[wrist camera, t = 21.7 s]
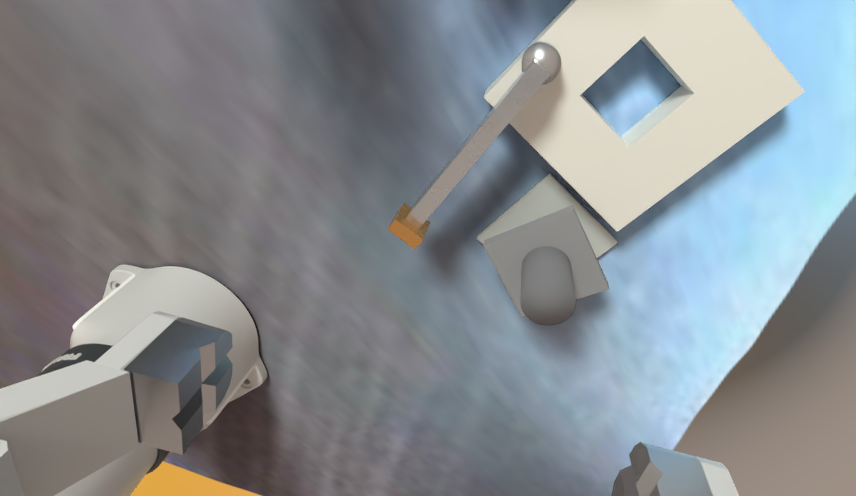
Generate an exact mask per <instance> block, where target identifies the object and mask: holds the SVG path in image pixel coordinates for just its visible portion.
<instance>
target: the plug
mask: <svg viewBox="0 0 856 496" xmlns="http://www.w3.org/2000/svg"><path fill="white" fill-rule="evenodd" d="M483 247H484V249H485V250H486V252H487V254H488V256H489V258H490V260H491V261H492V263H493V265H494V267H495V269H496V271H497V272H498V274H499V276H500V278H501V280H502V282H503V283H504V285H505V287H506V289H507V291H508V293H509V295H510V296H511V298H512V300H513V302H514V304H515V306H516V307H517V309H518V311H519V313H520V315H521V317H525V316H526V317H528V318H529V319H530V320H531V321H533V322H535V323H538V324H542V325H555V324H559V323H562V322H564V321H565V320H567V319H568V318H569V317H570V316H571V315H572V314H573V312H574V310H575V307H576V300H577V299H580V298H583V297H587V296H590V295H593V294H596V293H599V292H602V291H605V290H608V289H609V286H608V282H607V280H606V278H605V275H604V273H603V271H602V269H601V266H600V264H599V262H598V260H597V258H596V255H595V253H594V251H593V249H592V247H591V244H590V242H589V240H588V238H587V236H586V233H585V231H584V229H583V227H582V225H581V222H580V220H579V218H578V216H577V213H576V211H575V209H574V207H573V205H571V206H569V207H566V208H564V209H561V210H559V211H556V212H554V213H551V214H549V215H546V216H544V217H541V218H539V219H536V220H534V221H531V222H529V223H526V224H524V225H521V226H519V227H516V228H513V229H511V230H508V231H506V232H503V233H501V234H498V235H496V236H493V237H491V238H488V239H486V240H484V245H483Z"/></svg>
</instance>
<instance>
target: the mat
mask: <svg viewBox="0 0 856 496" xmlns="http://www.w3.org/2000/svg"><path fill="white" fill-rule="evenodd" d="M571 205H573V207H574V209H575V211H576V213H577V216H578V218H579V220H580V222H581V225H582V227H583V229H584V231H585V233H586V236H587V238H588V240H589V242H590V244H591V247H592V249H593V251H594V253H595V255H596V258H598V257H599V256H601V255H602V254H603V253H605V252H606V251H608V250H609V249H610V248H612V247H613V246H614V245H616V244H617V243H618V241H617V240H616V239H615V238H614V237H613V236H612V235H611V234H610V233H609V232H608V231H607V230H606V229H605V228H604V227H603V226H602V225H601V224H600V223H599V222H598V221H597V220H596V219H595V218H594V217H593V216H592V215H591V213H590V212H589V211H588V210H587V209H586V208H585V207H584V206H583V205H582V204H581V203H580V202H579V201H578V200H577V199H576V198H575V197H574V196H573V195H572V194H571V193H570V192H569V191H568V190H567V189H566V188H565V187H564V186H563V185H562V184H561V183H560V182H559V181H558V180H557V179H556V178H555V177H554V176H553V175H552V174H551V173H549V174H548V175H547V176H545V177H544V178H543V179H542V180H541V181H540V182H538V183H537V184H536V185H535V186H534V187H533V188H532V189H530V190H529V191H528V192H527V193H526V194H525V195H524V196H522V197H521V198H520V199H519V200H518V201H517V202H516V203H514V204H513V205H512V206H511V207H510V208H509V209H508V210H506V211H505V212H504V213H503V214H502V215H501V216H500V217H498V218H497V219H496V220H495V221H494V222H493V223H492V224H490V225H489V226H488V227H487V228H486V229H485V230H483V231H482V232H481V233H480V234H479V235H478V236H477V239H478V240H479V241H480V242H481V243H482V244H483V245H484V240H486V239H488V238H491V237H493V236H496V235H498V234H501V233H503V232H506V231H508V230H511V229H513V228H516V227H519V226H521V225H524V224H526V223H529V222H531V221H534V220H536V219H539V218H541V217H544V216H546V215H549V214H551V213H554V212H556V211H559V210H561V209H564V208H566V207H569V206H571Z"/></svg>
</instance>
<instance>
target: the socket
mask: <svg viewBox="0 0 856 496" xmlns="http://www.w3.org/2000/svg"><path fill="white" fill-rule="evenodd" d="M640 39H641V40H642V41H643V42H644V43H645V45H646V46H647V47H648V48H649V49H650V50H651V51H652V53H653V54H654V55H655V56H656V57H657V58H658V59H659V61H660V62H661V63H662V64H663V65H664V66H665V67H666V69H667V70H668V71H669V72H670V73H671V74H672V75H673V77H674V78H675V79H676V80H677V81H678V82H679V83H680V85H681V86H680V87H679V88H678V89H677V90H675V91H674V92H673V93H672V94H671V95H670V96H668V97H667V98H666V99H665V100H664V101H662V102H661V103H660V104H659V105H658V106H657V107H655V108H654V109H653V110H652V111H651V112H649V113H648V114H647V115H646V116H645V117H643V118H642V119H641V120H640V121H639V122H638V123H636V124H635V125H634V126H633V127H632V128H630V129H629V130H628V131H627V132H626V133H625V134H623V135H622V136H620V135H619V134H618V132H617V131H616V130H615V129H614V128H613V127H612V126H611V125H610V124H609V123H608V122H607V121H606V120H605V119H604V117H603V116H602V115H601V114H600V113H599V112H598V111H597V110H596V109H595V108H594V107H593V106H592V105H591V104H590V103H589V101H588V100H587V99H586V98H585V97H584V96H583V95H582V93H583V92H584V91H585V90H586V89H587V88H589V87H590V86H591V85H592V84H593V83H594V82H595V81H596V80H597V79H598V78H599V77H600V76H601V75H603V74H604V73H605V72H606V71H607V70H608V69H609V68H610V67H611V66H612V65H613V64H614V63H615V62H616V61H618V60H619V59H620V58H621V57H622V56H623V55H624V54H625V53H626V52H627V51H628V50H629V49H630V48H632V47H633V46H634V45H635V44H636V43H637V42H638V41H639V40H640ZM539 41H545V42H549V43H551V44H552V45H554V46H555V48H556V49H557V51H558V53H559V54H560V57H561V69H560V72H559V74H558V75H557V77H556V78H555V79H554V80H553V81H551V82H550V83H548V84H545V85H541V86H540V87H539V88H538V89H537V91H536V92H535V93H534V94H533V95H532V97H531V98H530V99H529V100H528V101H527V102H526V104H525V105H524V106H523V107H522V108H521V109H520V111H519V112H518V113H517V114H516V115H515V117H514V118H513V119H512V120H511V121H510V122H509V123H510V124H511V125H512V126H513V127H514V128H515V129H516V130H517V131H518V132H519V134H520V135H521V136H522V137H523V138H524V139H525V140H526V141H527V142H528V143H529V144H530V145H531V146H532V147H533V148H534V149H535V150H536V151H537V152H538V153H539V154H540V155H541V156H542V157H543V158H544V159H545V160H546V161H547V162H548V163H549V164H550V165H551V166H552V167H553V168H554V169H555V170H556V171H557V172H558V173H559V174H560V175H561V176H562V177H563V178H564V179H565V180H566V181H567V182H568V183H569V184H570V185H571V186H572V187H573V188H574V189H575V190H576V191H577V192H578V193H579V194H580V195H581V196H582V197H583V198H584V199H585V200H586V201H587V202H588V203H589V204H590V205H591V206H592V207H593V208H594V209H595V210H596V211H597V212H598V213H599V214H600V215H601V216H602V217H603V218H604V219H605V220H606V221H607V222H608V223H609V224H610V225H611V226H612V227H613V228H614V229H615V230H616V231H617V232H618V231H619V230H621V229H622V228H623V227H625V226H626V225H627V224H629V223H630V222H631V221H633V220H634V219H635V218H637V217H638V216H639V215H641V214H642V213H643V212H645V211H646V210H647V209H649V208H650V207H651V206H653V205H654V204H655V203H657V202H658V201H659V200H661V199H662V198H663V197H665V196H666V195H667V194H669V193H670V192H671V191H673V190H674V189H675V188H677V187H678V186H679V185H681V184H682V183H683V182H685V181H686V180H687V179H689V178H690V177H691V176H693V175H694V174H695V173H697V172H698V171H699V170H701V169H702V168H703V167H705V166H706V165H707V164H709V163H710V162H711V161H713V160H714V159H716V158H717V157H718V156H720V155H721V154H722V153H724V152H725V151H726V150H728V149H729V148H730V147H732V146H733V145H734V144H736V143H737V142H738V141H740V140H741V139H742V138H744V137H745V136H746V135H748V134H749V133H750V132H752V131H753V130H754V129H756V128H757V127H758V126H760V125H761V124H762V123H764V122H765V121H766V120H768V119H769V118H770V117H772V116H773V115H774V114H776V113H777V112H778V111H780V110H781V109H782V108H784V107H785V106H786V105H788V104H789V103H790V102H792V101H793V100H794V99H796V98H797V97H798V96H800V95H801V94H802V93H804V92H805V91H804V90H803V88H802V87H801V86H800V85H799V84H798V82H797V81H796V80H795V79H794V77H793V76H792V75H791V74H790V72H789V71H788V70H787V69H786V67H785V66H784V65H783V64H782V63H781V61H780V60H779V59H778V58H777V56H776V55H775V54H774V53H773V51H772V50H771V49H770V48H769V46H768V45H767V44H766V43H765V41H764V40H763V39H762V38H761V37H760V35H759V34H758V33H757V32H756V30H755V29H754V28H753V27H752V25H751V24H750V23H749V22H748V20H747V19H746V18H745V17H744V15H743V14H742V13H741V12H740V11H739V9H738V8H737V7H736V6H735V4H734V3H733V2H732V1H731V0H572V1H571V2H570V3H569V4H568V5H567V6H566V7H565V8H564V9H563V10H562V11H561V12H560V13H559V14H558V15H557V16H556V17H555V18H554V19H553V20H552V21H551V22H550V23H549V25H548V26H547V27H546V28H545V29H544V30H543V31H542V32H541V33H540V34H539V35H538V36H537V37H536V38H535V39H534V40H533V41H532V42H531V43H530V44H529V45H528V46H527V47H526V49H527V48H528V47H529V46H530V45H531V44H533V43H535V42H539ZM526 49H525V50H526ZM525 50H524V51H523V52H522V53H521V54H520V55H519V56H518V57H517V58H516V59H515V60H514V61H513V62H512V63H511V64H510V65H509V66H508V67H507V68H506V69H505V70H504V71H503V73H502V74H501V75H500V76H499V77H498V78H497V79H496V80H495V81H494V82H493V83H492V84H491V85H490V86H489V87H488V88H487V89H486V92H485V95H484V98H485V99H486V100H487V101H488V102H489V103H490V104H491V105H492V106H493V107H494V106H495V104H496V103H497V102H498V101H499V100H500V98H501V97H502V96H503V95H504V93H505V92H506V91H507V90H508V89H509V87H510V86H511V85H512V84H513V82H514V81H515V80H516V79H517V78H518V76H519V75H520V74H521V73H522V56H523V53H524V52H525Z"/></svg>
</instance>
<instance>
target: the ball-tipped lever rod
mask: <svg viewBox="0 0 856 496" xmlns="http://www.w3.org/2000/svg"><path fill="white" fill-rule="evenodd" d="M560 69H561V57H560V54H559V53H558V51H557V49H556V48H555V46H554V45H552V44H551V43H549V42H545V41H539V42H535V43H533V44H531V45H530V46H529V47H528V48H527V49H526V50H525V52H524V53H523V56H522V73H521V74H520V75H519V76H518V78H517V79H516V80H515V81H514V82H513V84H512V85H511V86H510V87H509V89H508V90H507V91H506V92H505V93H504V95H503V96H502V97H501V98H500V100H499V101H498V102H497V103H496V104H495V106H494V107H493V108H492V109H491V111H490V112H489V113H488V114H487V115H486V117H485V118H484V119H483V120H482V122H481V123H480V124H479V125H478V126H477V128H476V129H475V130H474V131H473V133H472V134H471V135H470V136H469V137H468V139H467V140H466V141H465V142H464V144H463V145H462V146H461V147H460V148H459V150H458V151H457V152H456V153H455V155H454V156H453V157H452V158H451V159H450V161H449V162H448V163H447V164H446V166H445V167H444V168H443V169H442V170H441V172H440V173H439V174H438V175H437V177H436V178H435V179H434V180H433V181H432V183H431V184H430V185H429V186H428V188H427V189H426V190H425V191H424V192H423V194H422V195H421V196H420V197H419V199H418V200H417V201H416V202H415V203H414V205H413V206H412V207H409V206H408V205H407V204H405V203H404V204H403V205H402V207H401V208H400V209H399V210H398V212H397V213H396V215H395V217H394V219H393V220H392V222H391V224H390V226H389V228H388V230H389V231H391V232H392V233H393V234H395V235H396V236H397V237H399V238H400V239H401V240H403V241H404V242H405V243H407V244H408V245H410V246H411V247H412V248H414V249H416V248H417V246H418V245H419V244H420V243H421V242H422V241H423V239H424V237H425V234H426V231H427V229H428V226H429V224H430V222H429V221H428V220H427V219H428V218H429V216H430V215H431V214H432V213H433V212H434V210H435V209H436V208H437V207H438V206H439V205H440V203H441V202H442V201H443V200H444V199H445V198H446V196H447V195H448V194H449V193H450V192H451V191H452V189H453V188H454V187H455V186H456V185H457V183H458V182H459V181H460V180H461V179H462V178H463V176H464V175H465V174H466V173H467V172H468V171H469V169H470V168H471V167H472V166H473V165H474V163H475V162H476V161H477V160H478V159H479V158H480V156H481V155H482V154H483V153H484V152H485V151H486V149H487V148H488V147H489V146H490V145H491V144H492V142H493V141H494V140H495V139H496V138H497V136H498V135H499V134H500V133H501V132H502V131H503V129H504V128H505V127H506V126H507V125H508V124H509V122H510V121H511V120H512V119H513V118H514V117H515V115H516V114H517V113H518V112H519V111H520V109H521V108H522V107H523V106H524V105H525V104H526V102H527V101H528V100H529V99H530V98H531V97H532V95H533V94H534V93H535V92H536V91H537V89H538V88H539V87H540V86H541V85H545V84H548V83H550V82H551V81H553V80H554V79H555V78H556V77H557V75H558V74H559V72H560Z"/></svg>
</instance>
